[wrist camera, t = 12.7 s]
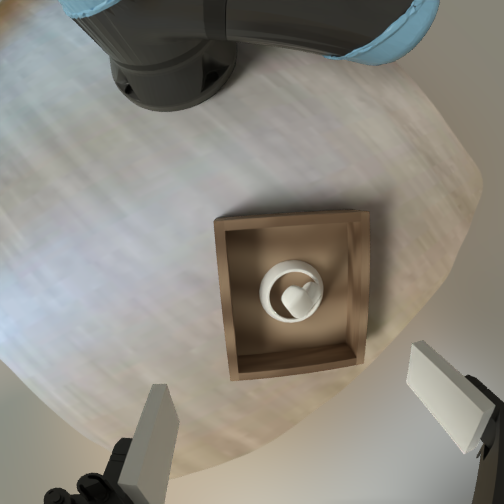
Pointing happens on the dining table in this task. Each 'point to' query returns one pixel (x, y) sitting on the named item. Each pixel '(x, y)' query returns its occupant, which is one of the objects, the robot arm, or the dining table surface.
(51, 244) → the dining table surface
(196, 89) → the robot arm
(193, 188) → the dining table surface
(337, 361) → the wooden tray
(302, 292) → the hook
